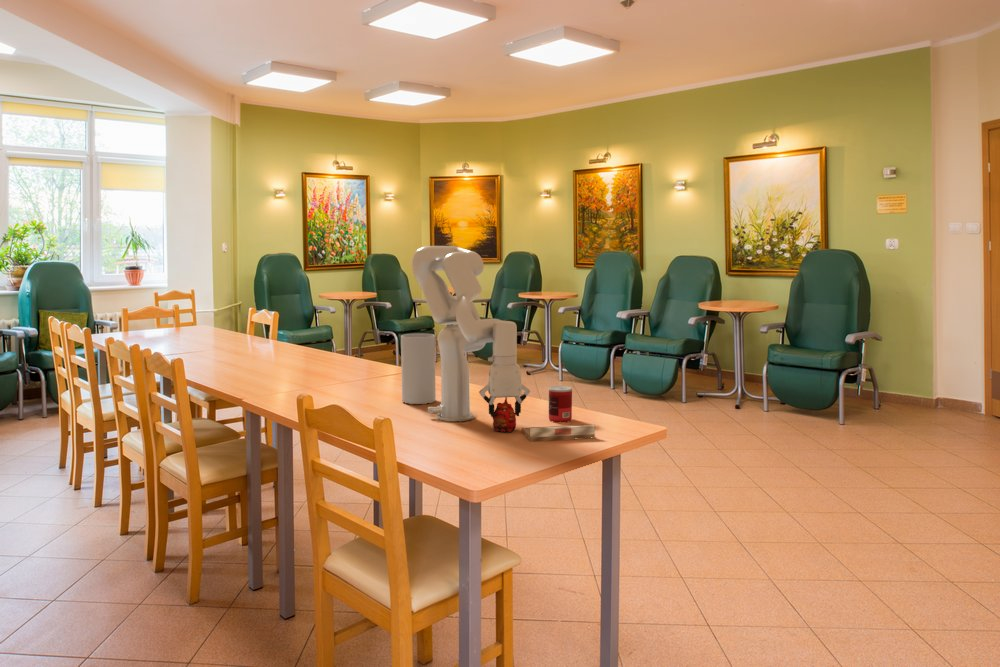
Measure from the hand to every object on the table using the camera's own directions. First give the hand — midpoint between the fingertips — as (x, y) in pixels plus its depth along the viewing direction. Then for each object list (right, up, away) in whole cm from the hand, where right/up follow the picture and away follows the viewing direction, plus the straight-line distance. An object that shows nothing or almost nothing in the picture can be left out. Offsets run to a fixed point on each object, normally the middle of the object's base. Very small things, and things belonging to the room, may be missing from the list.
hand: (504, 415), depth 237 cm
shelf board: (+16, -5, -5) cm, 18 cm away
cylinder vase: (-32, 0, +44) cm, 54 cm away
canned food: (+19, -3, +14) cm, 24 cm away
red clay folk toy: (0, -5, +1) cm, 5 cm away
